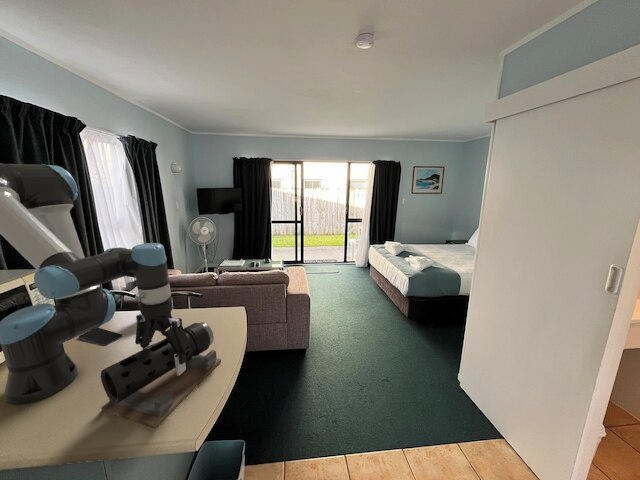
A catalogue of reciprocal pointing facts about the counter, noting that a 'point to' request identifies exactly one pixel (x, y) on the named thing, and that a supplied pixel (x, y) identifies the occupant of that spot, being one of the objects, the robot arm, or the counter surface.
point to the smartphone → (100, 336)
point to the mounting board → (163, 392)
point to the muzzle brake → (151, 363)
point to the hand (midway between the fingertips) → (166, 368)
